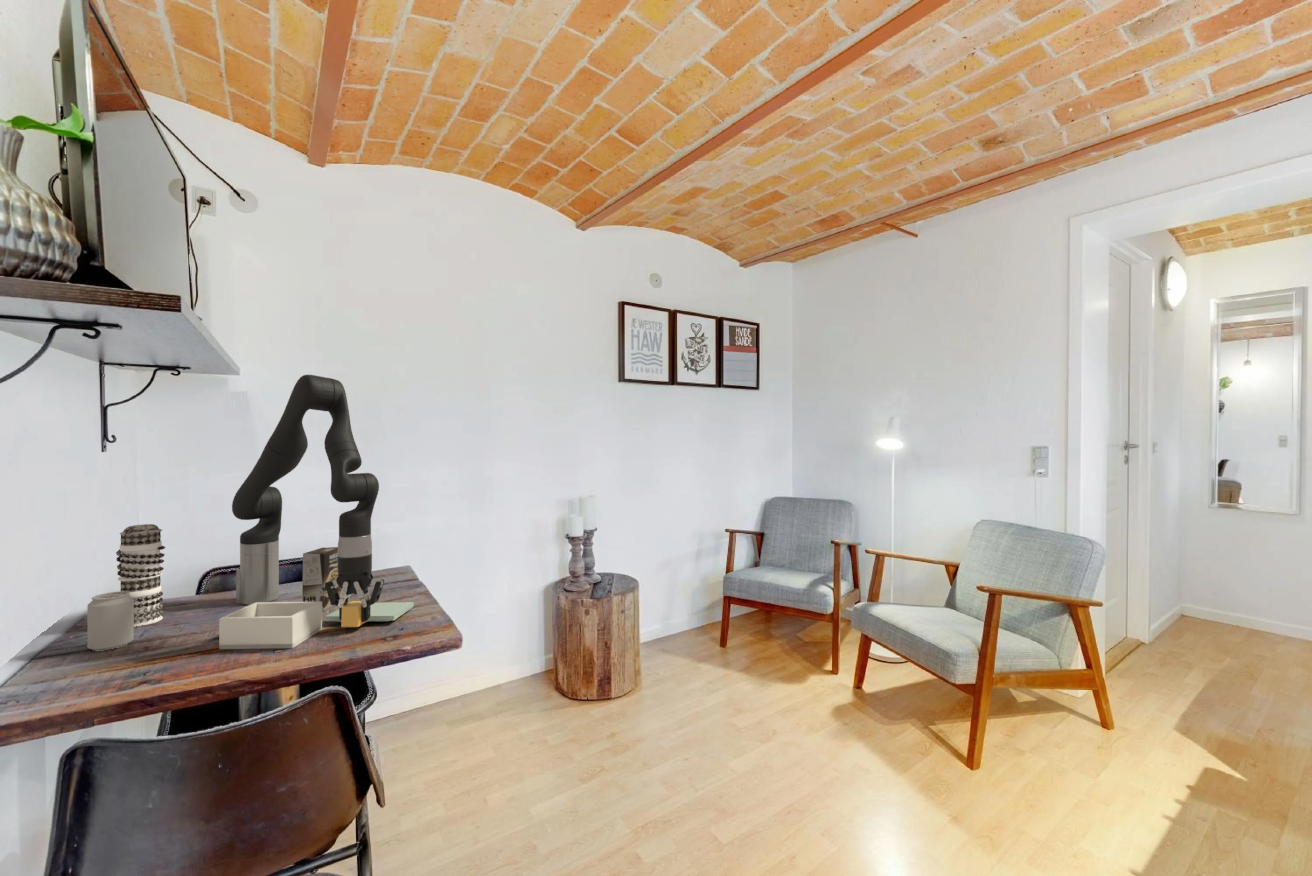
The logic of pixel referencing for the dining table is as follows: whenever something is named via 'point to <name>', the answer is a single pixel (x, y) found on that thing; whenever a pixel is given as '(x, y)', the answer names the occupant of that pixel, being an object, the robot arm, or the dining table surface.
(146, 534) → the decorative candle
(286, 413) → the robot arm
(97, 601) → the can
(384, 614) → the lid
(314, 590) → the coffee box
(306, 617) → the tub
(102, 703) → the dining table surface
